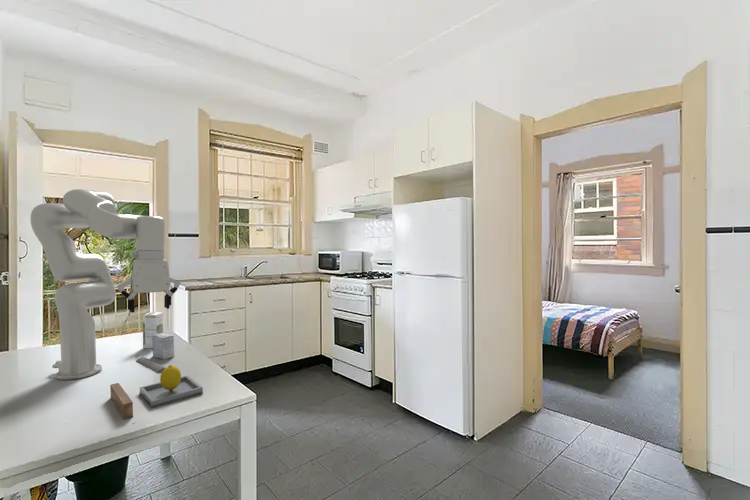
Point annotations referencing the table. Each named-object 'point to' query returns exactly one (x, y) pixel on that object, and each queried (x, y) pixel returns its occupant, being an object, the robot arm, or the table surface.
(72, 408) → the table surface
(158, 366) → the half round rod
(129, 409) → the walnut wall
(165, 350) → the medicine box
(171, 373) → the lemon
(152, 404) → the gray tray
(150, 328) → the syrup box
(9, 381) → the table surface
